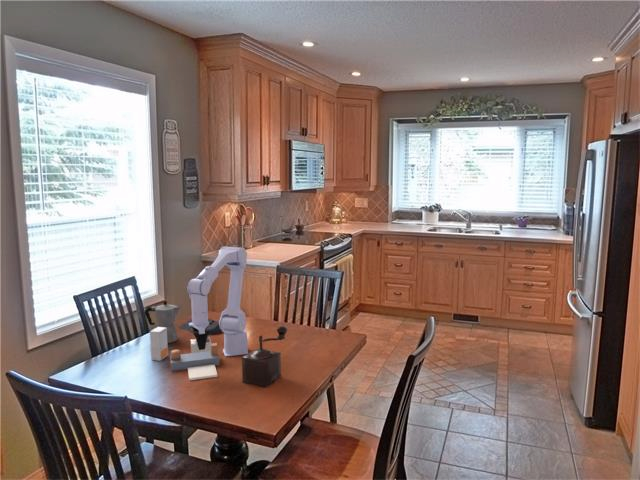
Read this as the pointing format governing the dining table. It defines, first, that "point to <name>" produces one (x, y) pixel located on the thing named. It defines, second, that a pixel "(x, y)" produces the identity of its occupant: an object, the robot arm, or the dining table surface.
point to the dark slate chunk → (212, 329)
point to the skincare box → (158, 343)
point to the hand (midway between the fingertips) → (201, 346)
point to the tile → (202, 372)
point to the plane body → (194, 358)
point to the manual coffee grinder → (263, 363)
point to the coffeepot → (165, 319)
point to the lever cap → (195, 346)
